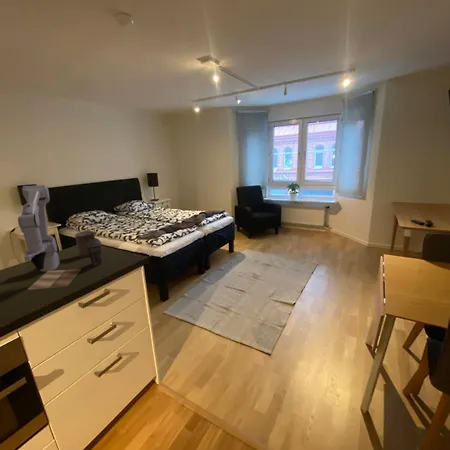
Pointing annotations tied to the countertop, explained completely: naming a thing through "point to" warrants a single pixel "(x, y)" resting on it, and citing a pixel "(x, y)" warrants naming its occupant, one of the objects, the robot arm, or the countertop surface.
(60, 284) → the laid board
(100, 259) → the beverage cup
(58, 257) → the robot arm
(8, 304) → the countertop surface
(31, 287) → the plank
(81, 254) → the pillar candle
